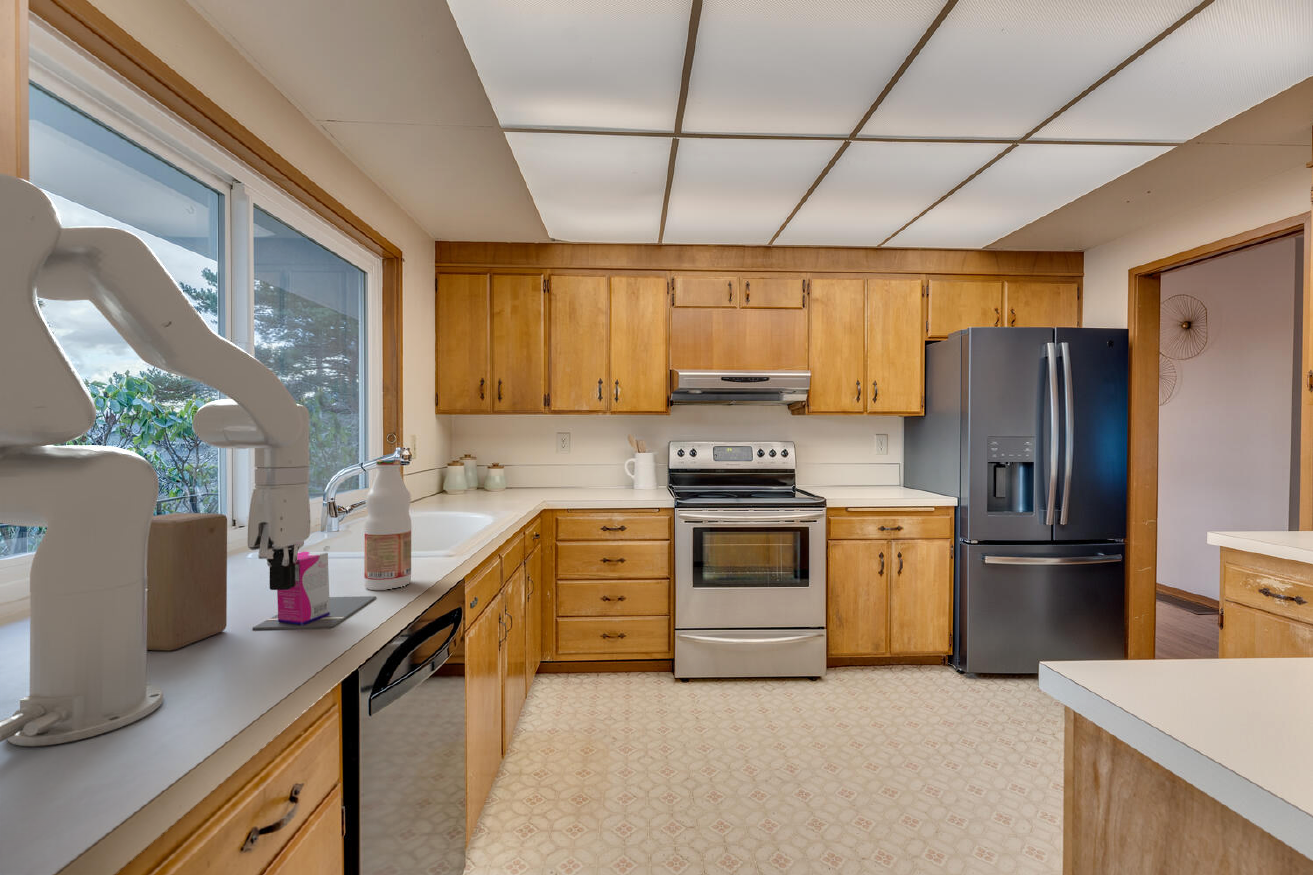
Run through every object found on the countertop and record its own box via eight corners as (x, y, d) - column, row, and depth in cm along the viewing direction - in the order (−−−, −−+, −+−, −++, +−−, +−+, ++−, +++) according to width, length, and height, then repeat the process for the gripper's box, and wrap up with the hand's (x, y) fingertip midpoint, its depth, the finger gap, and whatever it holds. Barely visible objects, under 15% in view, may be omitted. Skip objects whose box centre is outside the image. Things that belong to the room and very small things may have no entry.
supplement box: (305, 611, 102) (305, 550, 102) (330, 615, 100) (330, 552, 100) (275, 622, 96) (275, 557, 96) (301, 626, 95) (301, 559, 94)
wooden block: (229, 630, 94) (230, 512, 94) (172, 653, 84) (173, 521, 84) (176, 628, 95) (176, 511, 95) (113, 650, 85) (114, 520, 85)
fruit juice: (374, 593, 116) (375, 460, 116) (357, 585, 122) (357, 459, 123) (418, 585, 123) (419, 459, 123) (400, 578, 130) (400, 458, 130)
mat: (332, 627, 95) (332, 624, 95) (252, 629, 94) (252, 626, 94) (376, 598, 113) (376, 595, 113) (309, 599, 112) (309, 597, 112)
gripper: (285, 474, 99) (285, 577, 99) (227, 481, 84) (227, 602, 84) (329, 474, 99) (329, 576, 99) (279, 481, 84) (279, 601, 84)
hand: (282, 588), depth 92 cm, fingers closed
